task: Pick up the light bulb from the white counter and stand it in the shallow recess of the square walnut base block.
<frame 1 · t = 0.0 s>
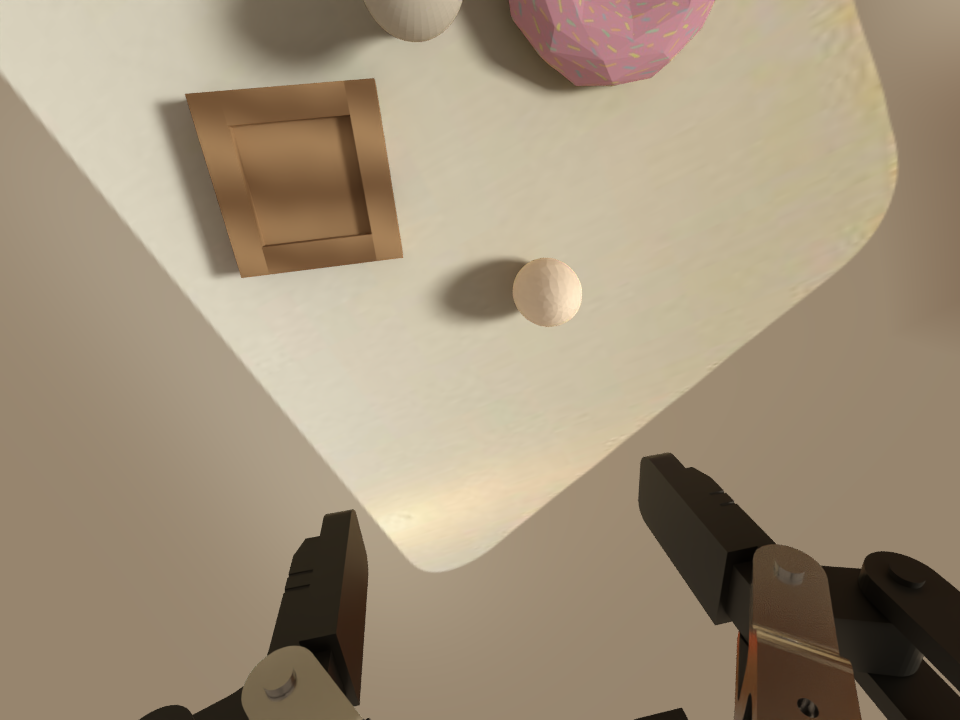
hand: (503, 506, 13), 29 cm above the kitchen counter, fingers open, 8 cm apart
light bulb: (408, 14, 32), on the kitchen counter
egg: (533, 281, 41), on the kitchen counter
base: (310, 181, 35), on the kitchen counter
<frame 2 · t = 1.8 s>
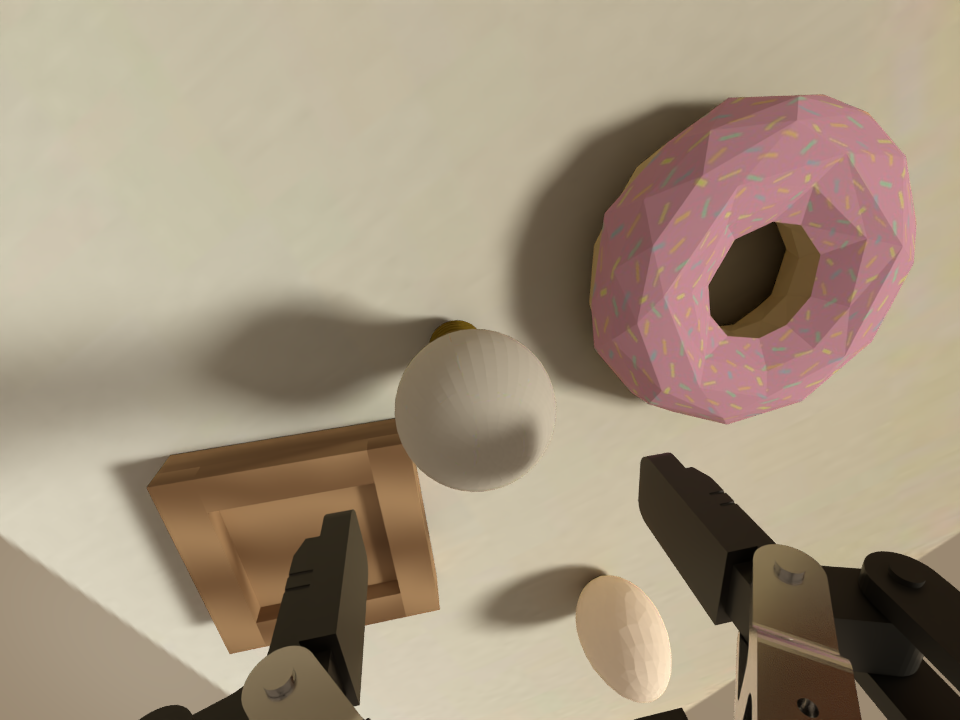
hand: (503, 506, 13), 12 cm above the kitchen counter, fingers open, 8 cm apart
light bulb: (453, 337, 24), on the kitchen counter
donut: (710, 262, 25), on the kitchen counter
egg: (597, 581, 33), on the kitchen counter
base: (319, 522, 27), on the kitchen counter
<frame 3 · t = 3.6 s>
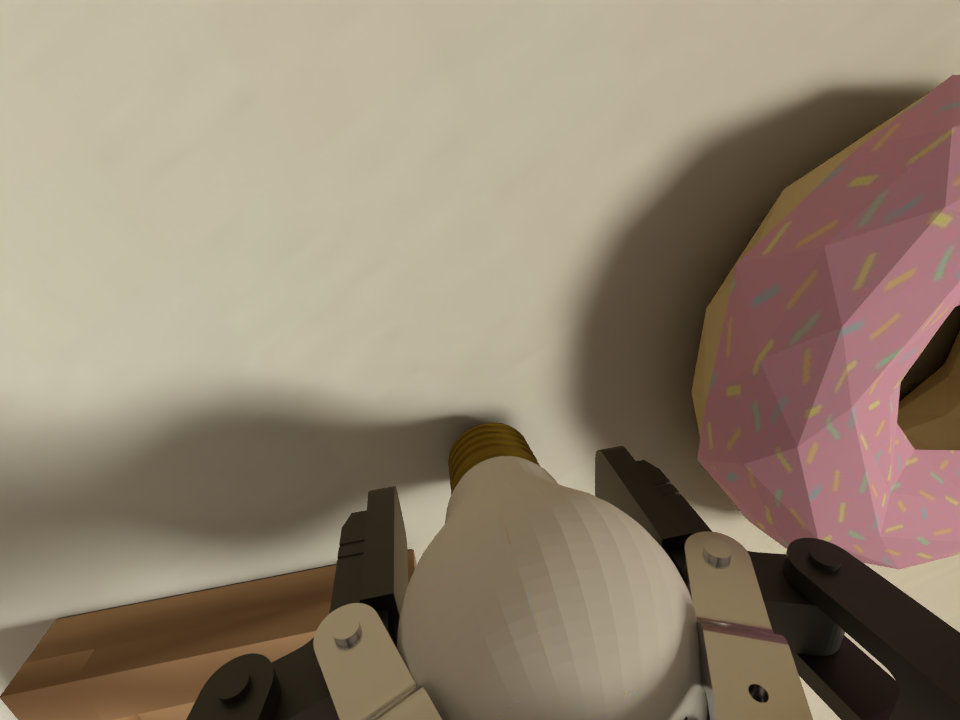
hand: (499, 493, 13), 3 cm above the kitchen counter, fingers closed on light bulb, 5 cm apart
light bulb: (483, 440, 16), on the kitchen counter, touching gripper
donut: (857, 324, 17), on the kitchen counter
base: (287, 689, 19), on the kitchen counter
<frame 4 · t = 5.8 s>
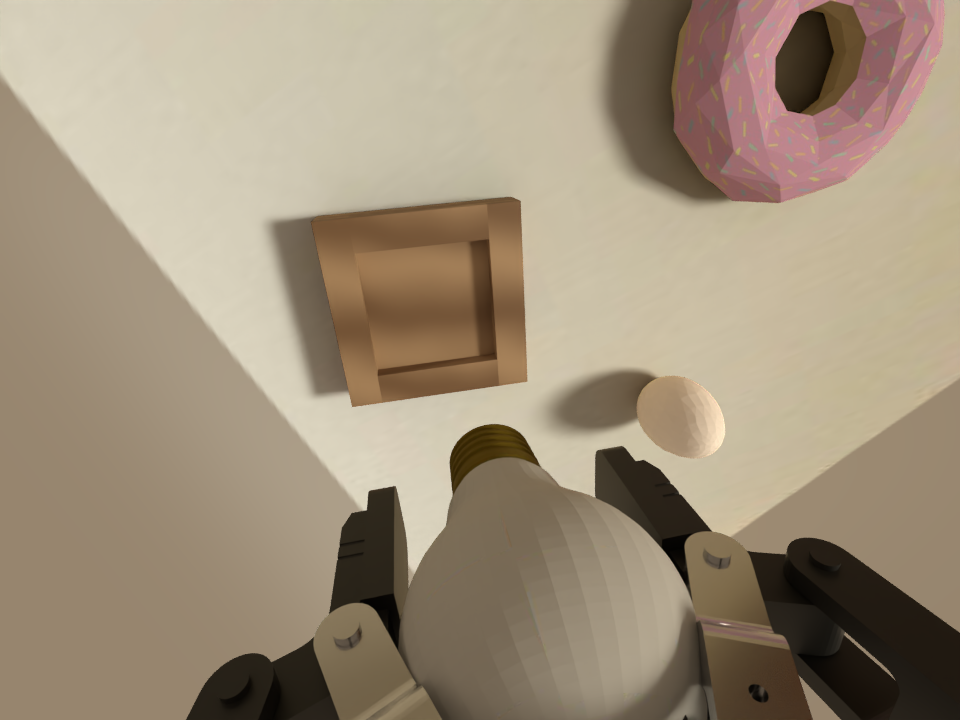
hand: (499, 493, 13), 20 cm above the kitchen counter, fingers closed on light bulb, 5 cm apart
light bulb: (484, 441, 16), point 17 cm above the kitchen counter, touching gripper
donut: (768, 70, 29), on the kitchen counter
egg: (652, 390, 38), on the kitchen counter
base: (428, 298, 32), on the kitchen counter
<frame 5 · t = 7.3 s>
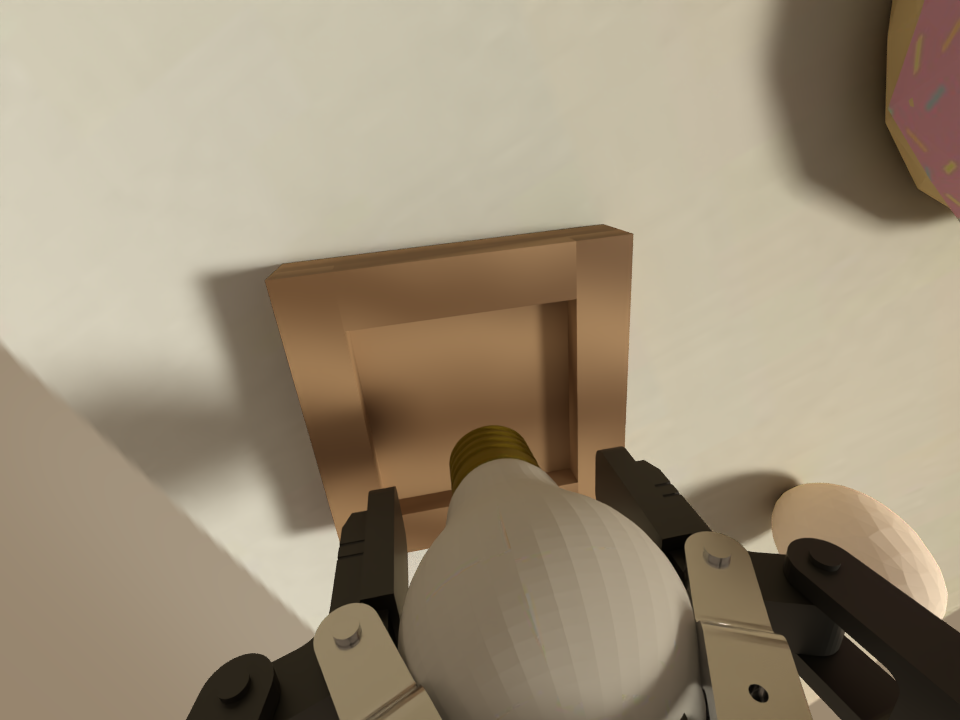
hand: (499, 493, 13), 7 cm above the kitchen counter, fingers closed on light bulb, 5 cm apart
light bulb: (484, 442, 16), point 4 cm above the kitchen counter, touching gripper
egg: (786, 496, 26), on the kitchen counter
base: (466, 386, 20), on the kitchen counter
when the fingers open (4 cm above the kitchen counter, at t = 8.3 s): light bulb stays where it is, resting on base.
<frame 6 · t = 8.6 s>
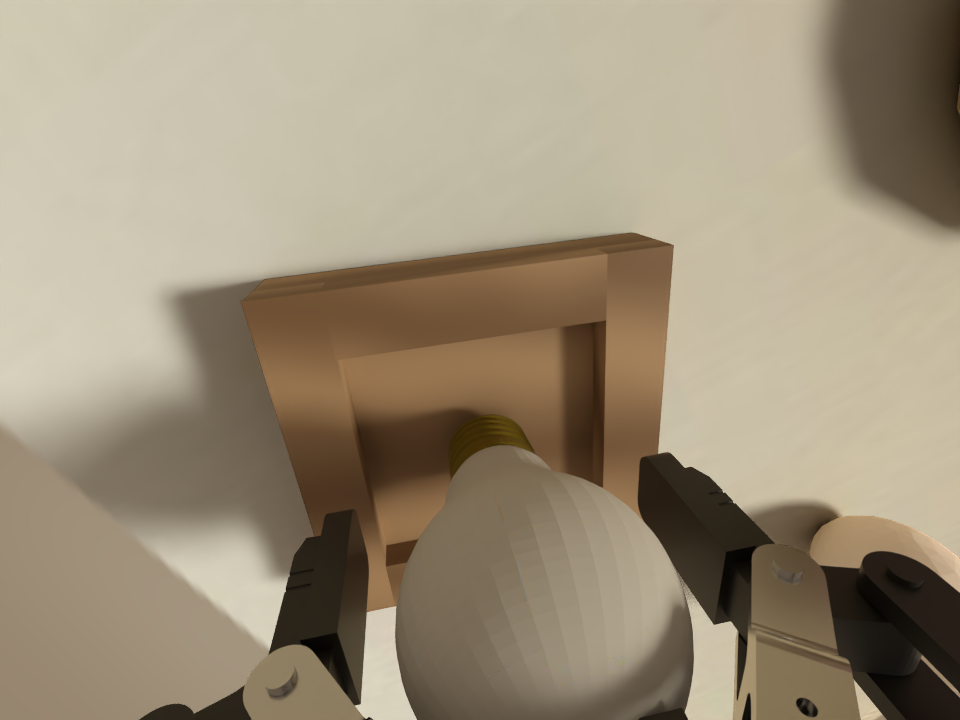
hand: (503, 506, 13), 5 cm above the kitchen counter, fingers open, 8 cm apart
light bulb: (482, 432, 16), point 1 cm above the kitchen counter, touching base
egg: (823, 527, 24), on the kitchen counter
base: (475, 415, 18), on the kitchen counter
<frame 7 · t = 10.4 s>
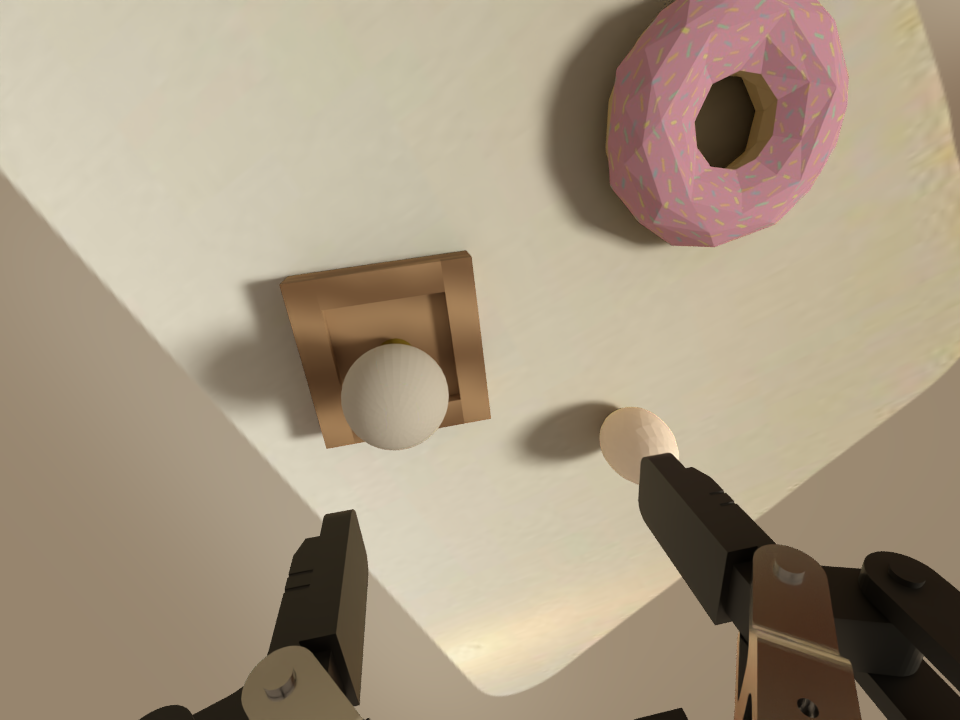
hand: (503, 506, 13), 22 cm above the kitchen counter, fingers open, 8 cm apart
light bulb: (395, 351, 33), point 1 cm above the kitchen counter, touching base
donut: (697, 126, 32), on the kitchen counter
egg: (616, 420, 40), on the kitchen counter
base: (395, 345, 34), on the kitchen counter
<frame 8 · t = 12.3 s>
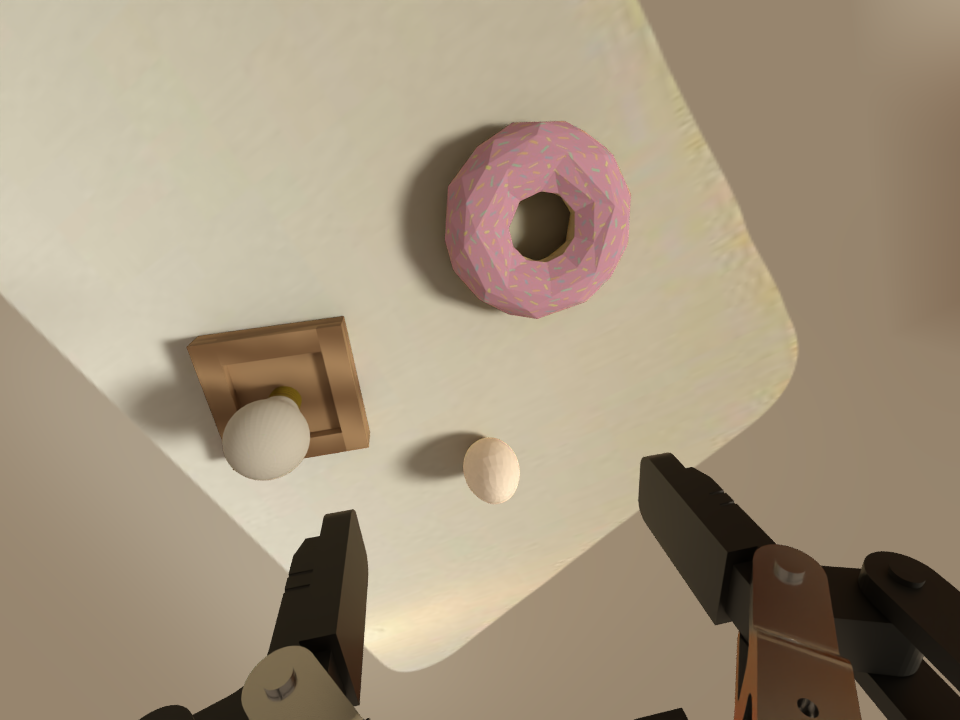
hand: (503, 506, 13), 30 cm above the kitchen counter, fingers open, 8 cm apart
light bulb: (288, 394, 41), point 1 cm above the kitchen counter, touching base
donut: (529, 221, 40), on the kitchen counter
egg: (484, 446, 48), on the kitchen counter
base: (290, 388, 42), on the kitchen counter
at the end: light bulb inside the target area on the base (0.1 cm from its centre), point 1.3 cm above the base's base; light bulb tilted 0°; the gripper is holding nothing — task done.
